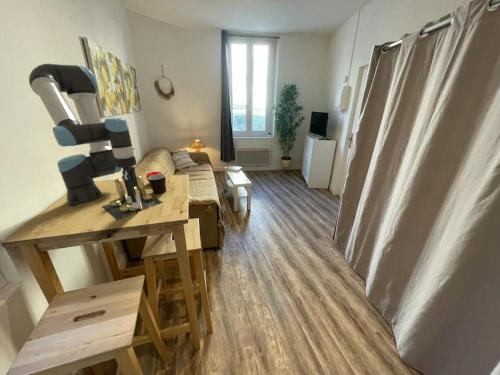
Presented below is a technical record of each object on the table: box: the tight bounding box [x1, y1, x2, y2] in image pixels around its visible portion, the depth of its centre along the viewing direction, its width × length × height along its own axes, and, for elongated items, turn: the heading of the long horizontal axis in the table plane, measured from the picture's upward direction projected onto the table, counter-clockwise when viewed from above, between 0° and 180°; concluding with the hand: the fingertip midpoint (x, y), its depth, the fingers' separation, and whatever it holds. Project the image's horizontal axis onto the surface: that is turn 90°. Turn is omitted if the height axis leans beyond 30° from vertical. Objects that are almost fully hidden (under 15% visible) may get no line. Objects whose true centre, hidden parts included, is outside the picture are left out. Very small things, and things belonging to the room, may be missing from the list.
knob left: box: [136, 175, 154, 201], centre depth 107 cm, size 9×4×11 cm, turn 50°
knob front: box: [120, 186, 142, 212], centre depth 95 cm, size 9×4×11 cm, turn 97°
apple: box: [145, 171, 163, 184], centre depth 128 cm, size 9×9×8 cm
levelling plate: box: [101, 196, 163, 221], centre depth 103 cm, size 20×21×3 cm
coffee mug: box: [148, 173, 167, 195], centre depth 116 cm, size 12×9×10 cm
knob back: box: [109, 178, 129, 207], centre depth 102 cm, size 9×4×11 cm, turn 170°
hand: (137, 205), depth 97 cm, fingers open, 4 cm apart
